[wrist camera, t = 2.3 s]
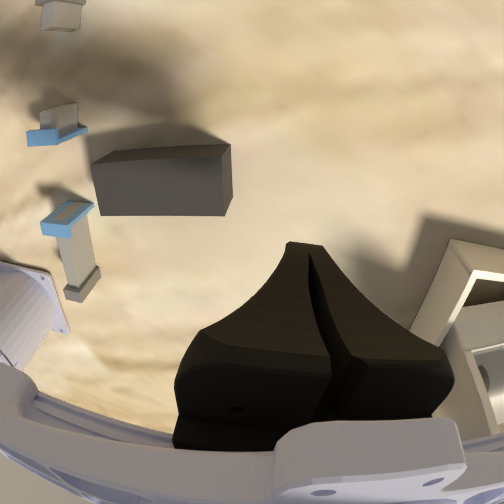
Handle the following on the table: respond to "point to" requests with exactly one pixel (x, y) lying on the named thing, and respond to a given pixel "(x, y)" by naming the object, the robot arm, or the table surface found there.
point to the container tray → (456, 288)
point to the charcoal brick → (165, 181)
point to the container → (476, 371)
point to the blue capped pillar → (53, 133)
